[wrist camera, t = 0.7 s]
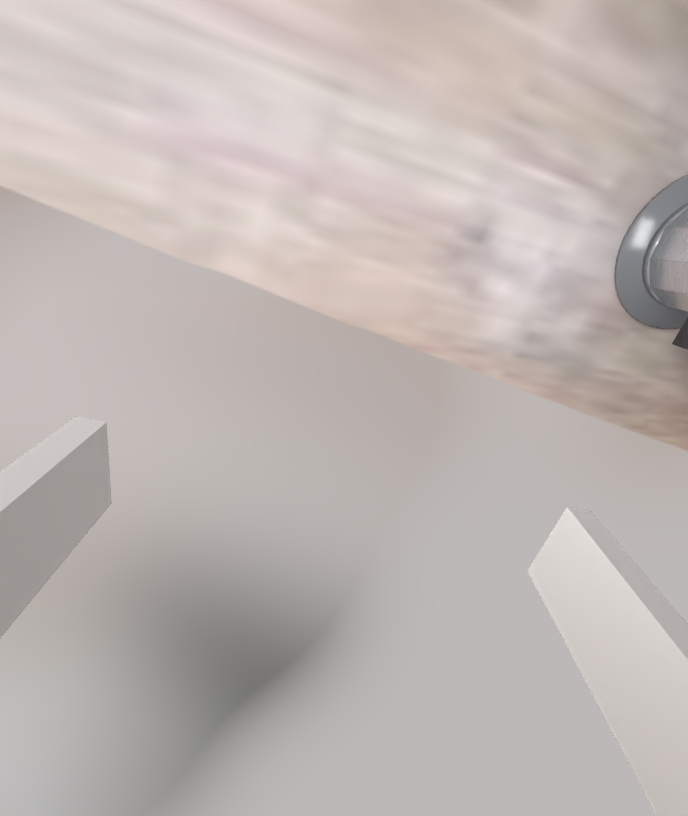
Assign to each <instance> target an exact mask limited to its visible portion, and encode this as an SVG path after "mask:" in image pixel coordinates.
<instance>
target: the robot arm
mask: <svg viewBox="0 0 688 816" xmlns="http://www.w3.org/2000/svg"><path fill="white" fill-rule="evenodd" d="M110 504H111V487H110V470H109V456H108V440H107V424H106V422H102V421H96V420H91V419H85V418H80V417H75V418H73V419H72V420H71V421H69V422H68V423H66V424H65V425H64V426H62V427H61V428H60V429H58V430H57V431H55V432H54V433H53V434H51V435H50V436H49V437H47V438H46V439H44V440H43V441H42V442H40V443H39V444H38V445H36V446H35V447H33V448H32V449H31V450H29V451H28V452H27V453H25V454H24V455H23V456H21V457H20V458H18V459H17V460H15V461H14V462H13V463H12V464H10V465H9V466H7V467H6V468H4V469H3V470H2V471H0V638H1V637H2V635H3V634H4V633H5V632H6V630H7V629H8V628H9V627H10V626H11V624H12V623H13V622H14V621H15V620H16V618H17V617H18V616H19V615H20V614H21V612H22V611H23V610H24V609H25V607H26V606H27V605H28V604H29V603H30V601H31V600H32V599H33V598H34V597H35V595H36V594H37V593H38V592H39V591H40V589H41V588H42V587H43V586H44V584H45V583H46V582H47V581H48V580H49V578H50V577H51V576H52V575H53V574H54V572H55V571H56V570H57V569H58V567H59V566H60V565H61V564H62V563H63V561H64V560H65V559H66V558H67V557H68V555H69V554H70V553H71V552H72V550H73V549H74V548H75V547H76V546H77V544H78V543H79V542H80V540H82V538H83V537H84V536H85V535H86V534H87V532H88V531H89V530H90V528H91V527H92V526H93V525H94V524H95V523H96V521H97V520H98V519H99V518H100V517H101V515H102V514H103V513H104V512H105V510H106V509H107V508H108V507H109V506H110ZM528 573H529V575H530V577H531V579H532V580H533V583H534V584H535V586H536V588H537V590H538V592H539V594H540V596H541V598H542V600H543V602H544V603H545V605H546V607H547V609H548V611H549V613H550V615H551V617H552V619H553V621H554V622H555V624H556V626H557V628H558V630H559V632H560V634H561V636H562V637H563V639H564V641H565V643H566V645H567V647H568V649H569V651H570V653H571V655H572V656H573V658H574V660H575V662H576V664H577V666H578V668H579V670H580V672H581V674H582V675H583V677H584V679H585V681H586V683H587V685H588V687H589V689H590V691H591V692H592V694H593V696H594V698H595V700H596V702H597V704H598V706H599V708H600V710H601V711H602V713H603V715H604V717H605V719H606V721H607V723H608V725H609V727H610V728H611V730H612V732H613V734H614V736H615V738H616V740H617V742H618V744H619V745H620V747H621V749H622V751H623V753H624V755H625V757H626V759H627V760H628V763H629V764H630V766H631V768H632V770H633V772H634V774H635V776H636V778H637V780H638V781H639V783H640V785H641V787H642V789H643V791H644V793H645V795H646V797H647V798H648V800H649V802H650V804H651V806H652V808H653V810H654V812H655V814H656V816H688V624H687V623H686V621H685V620H684V619H683V618H682V617H681V616H680V615H679V613H678V612H677V611H676V610H675V609H674V608H673V606H672V605H671V604H670V603H669V602H668V601H667V599H666V598H665V597H664V596H663V595H662V594H661V593H660V591H659V590H658V589H657V588H656V587H655V586H654V584H653V583H652V582H651V581H650V580H649V578H648V577H647V576H646V575H645V574H644V573H643V571H642V570H641V569H640V568H639V567H638V566H637V565H636V563H635V562H634V561H633V560H632V559H631V557H630V556H629V555H628V554H627V553H626V552H625V550H624V549H623V548H622V547H621V546H620V545H619V543H618V542H617V541H616V540H615V539H614V538H613V536H612V535H611V534H610V533H609V532H608V531H607V529H606V528H605V527H604V526H603V525H602V524H601V522H600V521H599V520H598V519H597V518H596V517H595V515H593V513H592V512H591V511H587V510H582V509H577V508H571V507H567V508H566V510H565V511H564V513H563V514H562V516H561V518H560V519H559V521H558V522H557V524H556V526H555V527H554V529H553V530H552V532H551V534H550V535H549V537H548V539H547V540H546V542H545V543H544V545H543V547H542V548H541V550H540V552H539V553H538V555H537V557H536V558H535V559H534V561H533V563H532V564H531V566H530V568H529V569H528Z"/></svg>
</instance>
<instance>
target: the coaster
mask: <svg viewBox="0 0 688 816" xmlns="http://www.w3.org/2000/svg"><path fill="white" fill-rule="evenodd" d="M686 203H688V175H686V176H684V177H682V178H680V179H679V180H677V181H675V182H673V183H672V184H670V185H669V186H668V187H666V188H665V189H663V190H662V191H661V192H660V193H659V194H657V195H656V196H655V197H654V198H653V199H652V200H651V201H650V202H649V203H648V204H647V205H646V206H645V207H644V208H643V209H642V211H641V212H640V213H639V214H638V216H637V217H636V218H635V220H634V221H633V223H632V224H631V226H630V227H629V229H628V231H627V233H626V235H625V237H624V239H623V241H622V244H621V246H620V249H619V252H618V256H617V260H616V266H615V287H616V291H617V295H618V298H619V300H620V302H621V304H622V306H623V307H624V309H625V310H626V311H627V312H628V313H629V314H630V315H631V316H632V317H633V318H635V319H636V320H638V321H640V322H642V323H644V324H647V325H650V326H654V327H658V328H681V327H682V326H683V324H684V323H685V321H686V319H687V317H688V311H684V310H679V309H675V308H671V307H667V306H664V305H662V304H660V303H658V302H656V301H655V300H654V299H652V297H651V296H650V295H649V294H648V292H647V291H646V289H645V286H644V284H643V279H642V264H643V259H644V255H645V252H646V249H647V247H648V245H649V242H650V241H651V239H652V237H653V235H654V234H655V232H656V231H657V230H658V228H659V227H660V226H661V225H662V223H663V222H664V221H665V220H666V219H667V218H668V217H669V216H670V215H671V214H672V213H674V212H675V211H676V210H677V209H679V208H680V207H682V206H683V205H685V204H686Z"/></svg>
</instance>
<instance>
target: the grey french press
mask: <svg viewBox="0 0 688 816" xmlns="http://www.w3.org/2000/svg"><path fill="white" fill-rule="evenodd" d="M642 279H643V284H644V286H645V289H646V291H647V292H648V294H649V295H650V296H651V297H652V299H654V300H655V301H656V302H658V303H660V304H662V305H664V306H667V307H671V308H675V309H679V310H684V311H688V203H686V204H685V205H683V206H682V207H680V208H679V209H677V210H676V211H675V212H674V213H672V214H671V215H670V216H669V217H668V218H667V219H666V220H665V221H664V222H663V223H662V225H661V226H660V227H659V228H658V230H657V231H656V232H655V234H654V235H653V237H652V239H651V241H650V242H649V245H648V247H647V249H646V252H645V255H644V259H643V264H642ZM672 344H674V345H676V346H679V347H682V348H685V349H688V317H687V319H686V321H685V323H684V324H683V326H682V328H681V329H680V331H679V333H678V335H677V336H676V338H675V340H674V342H673V343H672Z"/></svg>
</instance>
